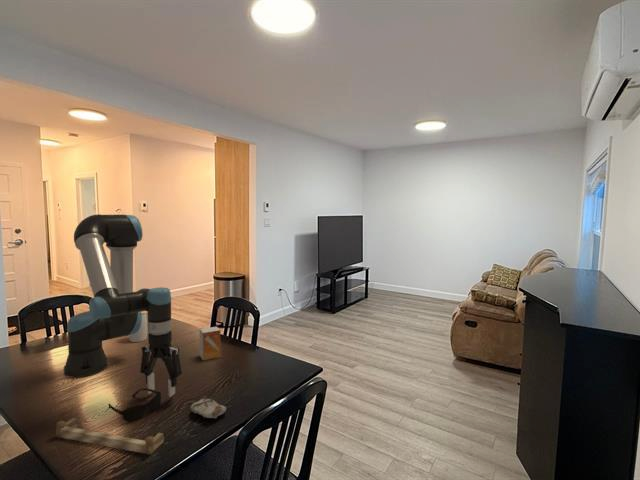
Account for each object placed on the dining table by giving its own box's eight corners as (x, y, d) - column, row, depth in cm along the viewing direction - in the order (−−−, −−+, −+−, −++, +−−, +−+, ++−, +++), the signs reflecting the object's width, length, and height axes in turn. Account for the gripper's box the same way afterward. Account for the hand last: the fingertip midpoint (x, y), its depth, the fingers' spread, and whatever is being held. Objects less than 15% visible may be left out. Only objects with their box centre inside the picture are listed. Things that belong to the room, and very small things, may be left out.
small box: (203, 361, 154) (202, 332, 153) (199, 356, 159) (199, 329, 158) (220, 357, 159) (220, 329, 158) (216, 352, 164) (216, 326, 163)
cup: (142, 344, 173) (141, 317, 172) (125, 344, 173) (124, 317, 172) (150, 338, 181) (150, 312, 180) (135, 338, 181) (134, 312, 180)
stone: (184, 412, 113) (184, 402, 113) (207, 402, 120) (207, 392, 120) (208, 424, 106) (208, 414, 106) (230, 412, 114) (231, 402, 114)
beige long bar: (55, 437, 101) (54, 424, 100) (73, 425, 106) (72, 413, 106) (150, 455, 93) (150, 441, 93) (164, 441, 99) (164, 428, 99)
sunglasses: (127, 427, 106) (126, 411, 106) (99, 412, 114) (99, 397, 114) (166, 406, 118) (165, 392, 118) (138, 394, 126) (138, 380, 125)
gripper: (127, 332, 120) (129, 395, 122) (179, 337, 116) (180, 402, 117) (142, 326, 127) (144, 385, 129) (192, 330, 123) (193, 391, 125)
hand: (161, 393), depth 123 cm, fingers open, 8 cm apart
